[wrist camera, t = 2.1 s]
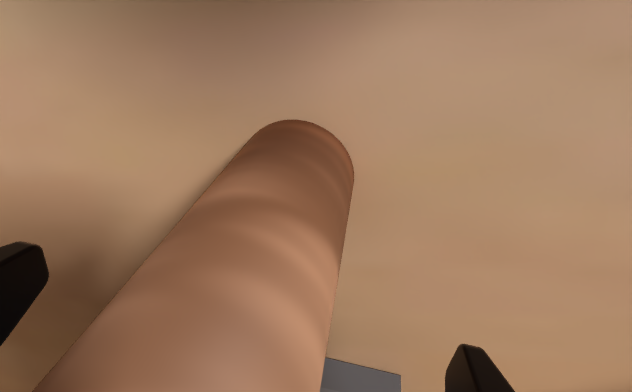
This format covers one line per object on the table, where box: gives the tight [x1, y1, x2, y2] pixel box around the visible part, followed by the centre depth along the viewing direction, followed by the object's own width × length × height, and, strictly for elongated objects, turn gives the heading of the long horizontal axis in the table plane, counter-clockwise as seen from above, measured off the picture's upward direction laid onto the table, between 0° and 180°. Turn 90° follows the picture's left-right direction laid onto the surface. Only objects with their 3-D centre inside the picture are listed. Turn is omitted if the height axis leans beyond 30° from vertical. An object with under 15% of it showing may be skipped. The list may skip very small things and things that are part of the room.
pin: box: [32, 120, 354, 392], centre depth 9 cm, size 4×4×10 cm
